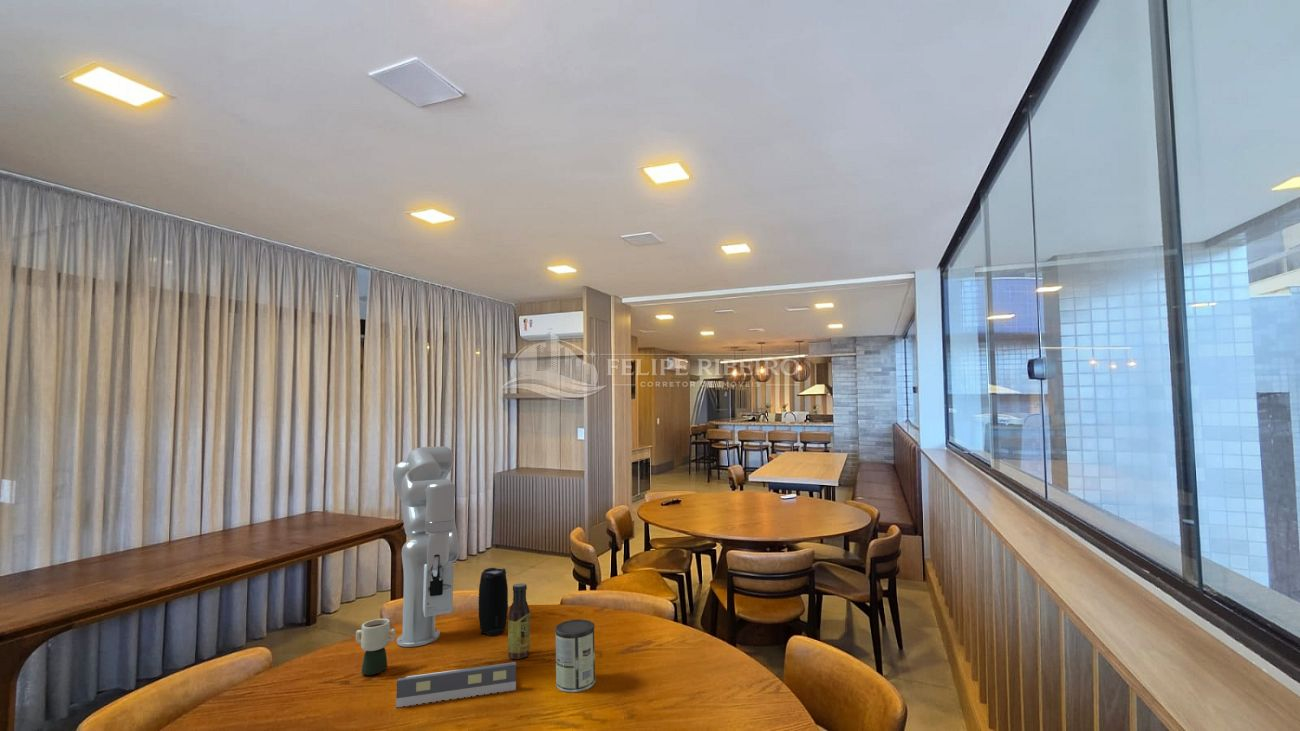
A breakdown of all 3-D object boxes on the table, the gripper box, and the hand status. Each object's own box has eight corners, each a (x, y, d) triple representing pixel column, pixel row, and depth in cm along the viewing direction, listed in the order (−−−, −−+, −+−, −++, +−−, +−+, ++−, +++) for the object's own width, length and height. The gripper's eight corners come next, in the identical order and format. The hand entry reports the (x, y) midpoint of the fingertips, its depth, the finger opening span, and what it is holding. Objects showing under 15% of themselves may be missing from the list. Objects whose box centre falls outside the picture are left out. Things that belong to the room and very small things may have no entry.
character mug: (400, 665, 149) (401, 617, 151) (388, 677, 142) (389, 626, 144) (361, 666, 149) (363, 619, 150) (347, 678, 142) (349, 628, 143)
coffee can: (567, 671, 142) (566, 617, 144) (601, 676, 139) (600, 620, 141) (547, 689, 133) (547, 631, 134) (584, 695, 129) (583, 635, 131)
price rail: (397, 696, 128) (397, 678, 128) (515, 679, 135) (515, 662, 135) (396, 698, 126) (396, 681, 127) (515, 681, 133) (515, 664, 134)
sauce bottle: (524, 661, 150) (524, 588, 152) (503, 659, 151) (504, 588, 153) (533, 651, 156) (533, 582, 158) (514, 650, 157) (514, 581, 160)
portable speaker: (480, 628, 176) (481, 567, 179) (509, 626, 177) (509, 566, 180) (476, 638, 168) (476, 574, 170) (506, 635, 169) (506, 572, 171)
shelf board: (405, 684, 138) (405, 675, 138) (515, 669, 145) (515, 661, 145) (395, 707, 126) (396, 697, 126) (515, 689, 133) (515, 680, 133)
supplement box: (424, 618, 141) (425, 569, 143) (422, 609, 148) (423, 563, 149) (453, 613, 145) (454, 566, 146) (450, 605, 151) (451, 560, 153)
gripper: (430, 522, 156) (428, 583, 154) (420, 533, 140) (418, 601, 138) (456, 520, 158) (455, 580, 156) (450, 531, 141) (449, 598, 139)
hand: (438, 590), depth 147 cm, fingers closed on supplement box, 8 cm apart
